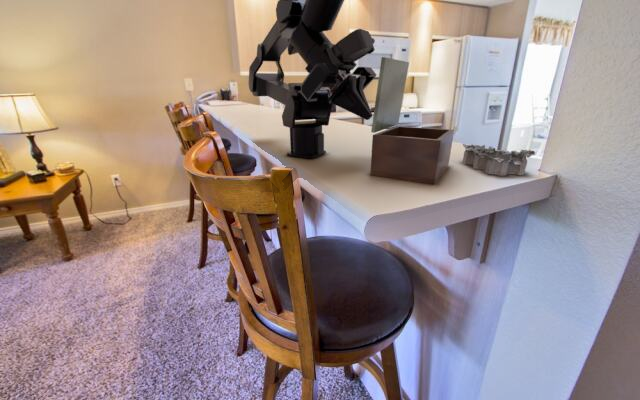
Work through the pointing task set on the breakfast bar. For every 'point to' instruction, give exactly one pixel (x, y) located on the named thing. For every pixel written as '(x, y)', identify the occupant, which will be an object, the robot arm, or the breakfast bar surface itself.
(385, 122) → the lid
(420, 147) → the box
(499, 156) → the egg carton
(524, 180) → the breakfast bar surface
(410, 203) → the breakfast bar surface
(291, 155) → the robot arm
